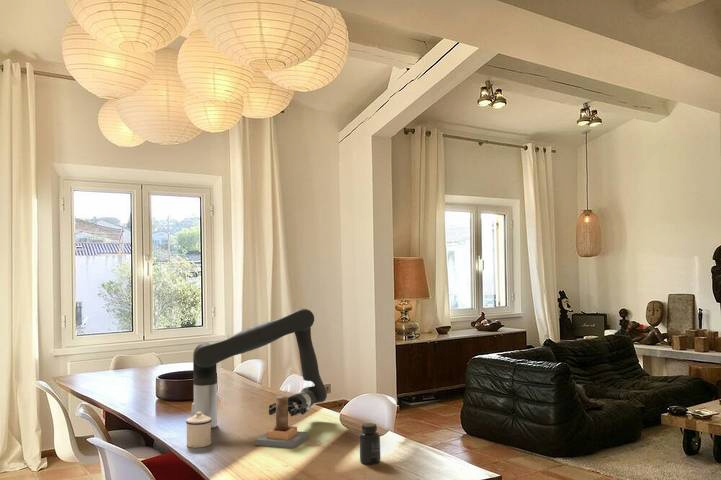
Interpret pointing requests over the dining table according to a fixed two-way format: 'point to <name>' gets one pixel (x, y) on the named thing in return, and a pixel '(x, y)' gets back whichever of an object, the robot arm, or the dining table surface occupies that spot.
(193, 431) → the teacup with lid
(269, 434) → the collar base
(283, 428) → the walnut peg
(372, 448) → the supplement bottle
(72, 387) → the dining table surface
